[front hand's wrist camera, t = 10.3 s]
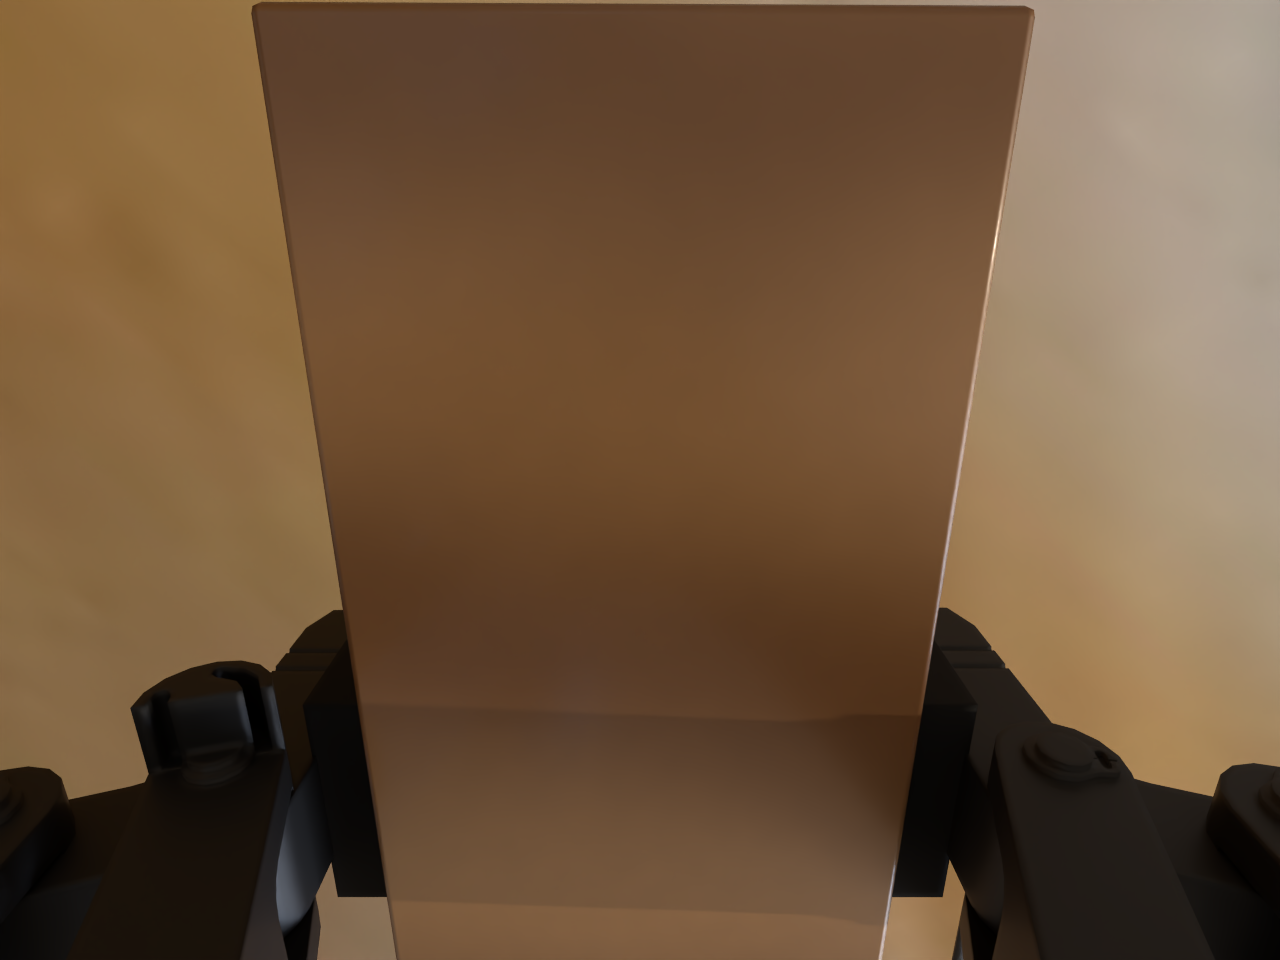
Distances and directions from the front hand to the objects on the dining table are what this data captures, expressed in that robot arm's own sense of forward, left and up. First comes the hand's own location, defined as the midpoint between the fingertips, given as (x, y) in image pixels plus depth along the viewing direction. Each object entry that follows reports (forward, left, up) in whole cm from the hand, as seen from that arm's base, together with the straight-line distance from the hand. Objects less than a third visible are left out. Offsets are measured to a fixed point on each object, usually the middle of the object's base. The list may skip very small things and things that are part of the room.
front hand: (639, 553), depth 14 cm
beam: (+8, -24, -1) cm, 26 cm away
